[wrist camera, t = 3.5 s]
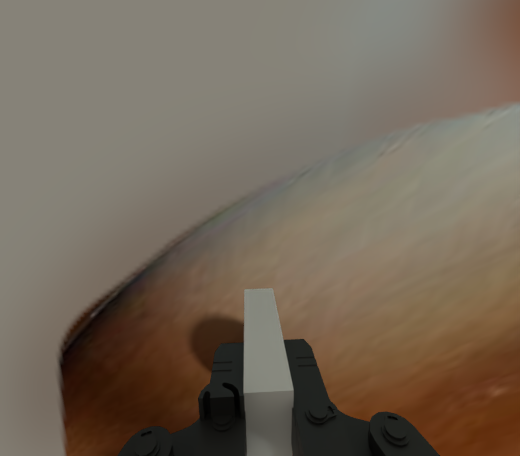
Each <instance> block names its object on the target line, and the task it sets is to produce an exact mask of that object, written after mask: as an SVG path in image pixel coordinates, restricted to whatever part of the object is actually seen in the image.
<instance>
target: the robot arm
mask: <svg viewBox="0 0 520 456" xmlns="http://www.w3.org/2000/svg"><path fill="white" fill-rule="evenodd" d="M198 402H199V413H200V418H199V419H198V420H197V421H196V422H195V423H194V424H192V425H191V426H189V427H187V428H185V429H183V430H180V431H178V432H175V433H172V434H170V433H169V432H168V430H167V429H165V428H162V427H160V426H152V427H148V428H145V429H143V430H141V431H139V432H138V433H136V434H135V435H133V436H132V437H131V438H130V439H129V441H128V442H127V443H126V444H125V445H124V447H123V448H122V450H121V451H120V453H119V454H118V456H292V451H293V456H440V455H439V454H438V453H437V452H436V451H435V450H434V449H433V447H432V446H431V445H430V444H429V443H428V442H427V441H426V440H425V438H424V437H423V436H422V435H421V434H420V433H419V432H418V431H417V429H416V428H415V427H414V426H413V425H412V424H411V423H409V422H408V421H407V420H406V419H405V418H403V417H401V416H399V415H397V414H394V413H390V412H378V413H377V414H375V415H374V416H372V418H371V420H370V422H368V421H364V420H360V419H356V418H353V417H350V416H347V415H345V414H343V413H342V412H340V411H339V410H338V409H337V407H336V406H335V405H334V404H333V403H332V402H331V401H330V399H329V397H328V394H327V391H326V389H325V386H324V383H323V380H322V377H321V374H320V371H319V368H318V366H317V363H316V360H315V358H314V354H313V351H312V348H311V346H310V345H309V344H308V343H307V342H306V341H305V340H304V339H295V340H283V336H282V331H281V326H280V321H279V316H278V312H277V307H276V302H275V297H274V292H273V288H267V289H245V294H244V343H225V344H221V345H220V346H219V347H218V349H217V350H216V352H215V355H214V361H213V367H212V374H211V380H210V384H208V385H207V386H206V387H205V388H204V389H203V390H202V391H201V393H200V395H199V398H198Z"/></svg>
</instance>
